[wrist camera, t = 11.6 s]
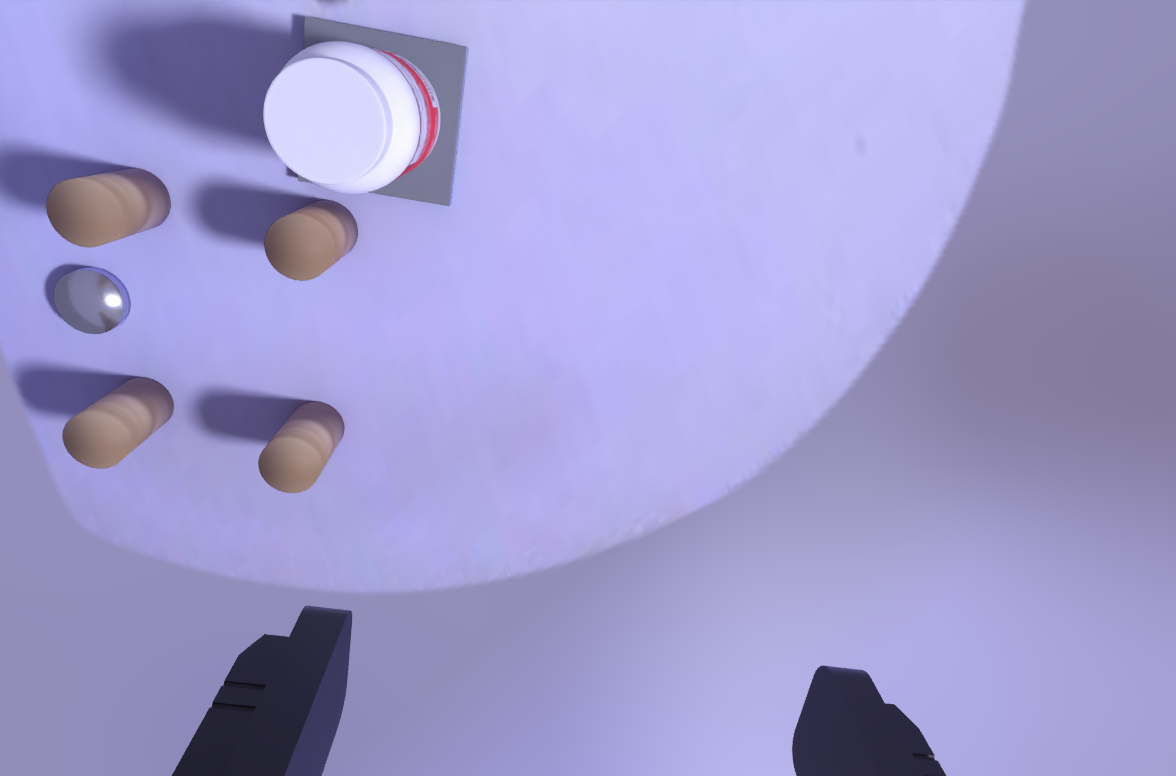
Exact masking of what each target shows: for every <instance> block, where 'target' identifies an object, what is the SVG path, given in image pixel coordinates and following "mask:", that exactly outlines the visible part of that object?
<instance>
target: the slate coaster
mask: <svg viewBox="0 0 1176 776" xmlns="http://www.w3.org/2000/svg"><path fill="white" fill-rule="evenodd" d="M330 41H345V42H351V43H356V44H360V45H363V46H367V47H371V48H376V49H381V50H385V51H389V52H392V53H395V54H398V55H400V56H402V57H404V58H405V59H407V60H409V61H410V62H411V63H413V64H414V65H415V66H416V67H417V68H418V69H420V70H421V72H422V73H423V74H424V75H425V76H426V78H427V79H428V80H429V82H430V84H431V85H432V87H433V89H434V91H435V94H436V96H437V99H438V103H439V108H440V130H439V135H438V138H437V141H436V143H435V146H434V148H433V149H432V151H431V153H430V154H429V155H428V157H427V158H426V159H425V160H424V161H423V162H422V163H421V164H420V165H419V166H417V167H416V168H414V169H413V170H411V171H410V172H408V173H406V174H405V175H403V176H401V177H399V178H398V179H396V180H394V181H393V182H391V183H389V184H388V185H386V186H385V187H383V188H379V189H377V190H374V191H370V192H369V193H375V194H381V195H387V196H393V197H399V198H405V199H410V200H416V201H422V202H428V203H434V204H440V205H446V206H450V205H451V200H452V191H453V182H454V173H455V164H456V155H457V145H458V136H459V127H460V118H461V109H462V100H463V91H464V82H465V72H466V63H467V54H468V47H464V46H459V45H453V44H448V43H443V42H438V41H432V40H427V39H422V38H417V37H411V36H406V35H401V34H396V33H390V32H385V31H380V30H374V29H369V28H364V27H359V26H353V25H348V24H343V23H338V22H332V21H327V20H322V19H316V18H311V17H306V16H305V23H304V48H303V50H304V49H306V48H308V47H310V46H313V45H315V44H319V43H323V42H330ZM298 181H304V182H309V183H312V182H311V181H309V180H307V179H306V178H303V177H302V176H300V175H298Z"/></svg>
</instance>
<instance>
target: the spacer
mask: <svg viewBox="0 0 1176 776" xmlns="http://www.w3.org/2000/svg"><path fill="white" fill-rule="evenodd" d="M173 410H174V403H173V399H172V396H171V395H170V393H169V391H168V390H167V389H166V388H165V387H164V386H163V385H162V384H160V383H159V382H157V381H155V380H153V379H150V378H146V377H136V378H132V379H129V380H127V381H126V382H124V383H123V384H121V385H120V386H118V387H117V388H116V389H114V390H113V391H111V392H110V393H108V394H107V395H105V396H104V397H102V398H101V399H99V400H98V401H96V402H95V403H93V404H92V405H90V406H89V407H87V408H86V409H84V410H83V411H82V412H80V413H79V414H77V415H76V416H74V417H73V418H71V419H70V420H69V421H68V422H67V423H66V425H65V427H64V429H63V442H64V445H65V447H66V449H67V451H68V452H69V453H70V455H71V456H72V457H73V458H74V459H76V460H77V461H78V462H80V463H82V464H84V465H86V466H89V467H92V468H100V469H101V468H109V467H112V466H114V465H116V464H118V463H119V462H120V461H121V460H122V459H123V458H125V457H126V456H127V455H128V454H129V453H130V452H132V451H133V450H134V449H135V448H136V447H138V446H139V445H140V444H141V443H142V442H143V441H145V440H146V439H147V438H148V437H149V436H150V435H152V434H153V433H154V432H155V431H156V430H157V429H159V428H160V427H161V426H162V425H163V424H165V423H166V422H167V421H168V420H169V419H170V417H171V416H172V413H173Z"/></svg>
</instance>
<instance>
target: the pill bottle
mask: <svg viewBox="0 0 1176 776" xmlns="http://www.w3.org/2000/svg"><path fill="white" fill-rule="evenodd" d="M263 120H264V127H265V131H266V134H267V137H268V139H269V142H270V144H271V146H272V148H273V150H274V151H275V153H276V154H277V156H278V157H279V158H280V159H281V161H282V162H283V163H284V164H285V165H286V166H287V167H288V168H290V169H291V170H292V171H294V172H295V173H296V174H298V175H300V176H302V177H303V178H306V179H307V180H309V181H311V182H312V183H314V184H316V185H318V186H320V187H322V188H325V189H328V190H331V191H334V192H339V193H346V194H359V193H366V192H370V191H374V190H377V189H379V188H383V187H385V186H386V185H388V184H389V183H391V182H393V181H394V180H396V179H398V178H399V177H401V176H403V175H405V174H406V173H408V172H410V171H411V170H413V169H414V168H416V167H417V166H419V165H420V164H421V163H422V162H423V161H424V160H425V159H426V158H427V157H428V155H429V154H430V153H431V151H432V149H433V148H434V146H435V143H436V141H437V138H438V135H439V130H440V108H439V103H438V99H437V96H436V94H435V91H434V89H433V87H432V85H431V84H430V82H429V80H428V79H427V78H426V76H425V75H424V74H423V73H422V72H421V70H420V69H418V68H417V67H416V66H415V65H414V64H413V63H411V62H410V61H409V60H407V59H405V58H404V57H402V56H400V55H398V54H395V53H392V52H389V51H385V50H381V49H376V48H371V47H367V46H363V45H360V44H356V43H351V42H345V41H330V42H323V43H319V44H315V45H313V46H310V47H308V48H306V49H304V50H302V51H301V52H299V53H298V54H296V55H295V56H294V57H292V58H291V59H290V60H289V61H288V62H287V64H286V65H285V66H284V67H283V69H282V70H281V72H280V73H279V74H278V75H277V76H276V77H275V79H274V80H273V81H272V83H271V85H270V87H269V89H268V91H267V94H266V97H265V100H264V107H263Z"/></svg>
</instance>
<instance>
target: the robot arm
mask: <svg viewBox="0 0 1176 776" xmlns="http://www.w3.org/2000/svg"><path fill="white" fill-rule="evenodd" d="M351 626H352V612H351V611H349V610H340V609H331V608H322V607H312V606H305V607H304V608H303V610H302V612H301V614H300V616H299V618H298V620H297V622H296V624H295V626H294V628H293V630H292V632H291V634H290V637H285V636H275V635H266V634H264V635H263V636H262V637H261V638H260V639H258V640H257V641H256V642H254V643H253V644H252V645H251V646H250V647H248V648H247V649H246V650H245V651H243V652H242V653H241V654H240V655H239V656H238V657H237V659H236V661H235V663H234V665H233V666H232V669H231V670H230V672H229V674H228V676H227V677H226V679H225V681H224V685H223V686H221V688H220V690H219V692H218V694H217V695H216V697H215V699H214V701H213V704H212V707H211V708H209V710H208V711H207V713H206V715H205V717H204V719H203V720H202V722H201V724H200V726H199V728H198V730H197V731H196V733H195V735H194V737H193V738H192V740H191V742H190V744H189V746H188V747H187V749H186V751H185V753H184V755H183V756H182V758H181V760H180V762H179V764H178V766H177V767H176V769H175V771H174V773H173V774H172V776H322V773H323V770H324V767H325V764H326V761H327V758H328V755H329V752H330V749H331V746H332V743H333V740H334V737H335V734H336V731H337V728H338V725H339V722H340V718H341V714H342V710H343V705H344V700H345V695H346V688H347V677H348V665H349V652H350V640H351ZM792 752H793V753H792V754H793V763H794V768H795V772H796V775H797V776H946V775H945V773H944V771H943V769H942V768H941V766H940V764H939V762H938V761H936V760H935V759H934V754H933V752H932V750H931V748H930V747H929V745H928V744H927V742H926V740H925V738H924V736H923V735H922V733H921V732H920V730H919V728H918V727H917V726H916V725H915V724H914V723H913V722H912V721H911V720H910V719H909V718H908V717H907V716H906V715H905V714H904V713H903V712H902V711H901V710H900V709H898V708H897V707H896V706H895V705H894V704H885V703H884V701H883V699H882V698H881V696H880V694H879V692H878V690H877V689H876V687H875V685H874V683H873V681H872V679H871V678H870V676H869V674H867V672H865V671H863V670H856V669H847V668H839V667H830V666H820V667H819V668H818V669H817V670H816V672H815V674H814V677H813V680H812V683H811V685H810V688H809V691H808V694H807V697H806V700H805V703H804V706H803V709H802V712H801V715H800V717H799V720H798V723H797V726H796V729H795V733H794V737H793V746H792Z"/></svg>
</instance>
